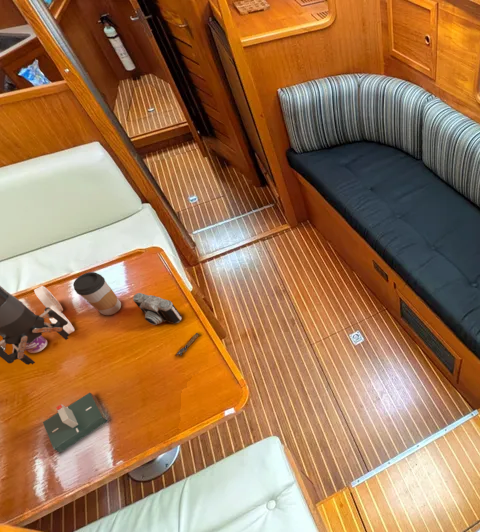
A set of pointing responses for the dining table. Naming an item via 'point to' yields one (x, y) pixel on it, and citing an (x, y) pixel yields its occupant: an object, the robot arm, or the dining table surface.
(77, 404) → the green switch panel
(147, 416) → the dining table surface
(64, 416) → the tap handle
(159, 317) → the camera
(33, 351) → the pill bottle
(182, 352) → the can opener
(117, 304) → the coffee cup
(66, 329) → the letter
